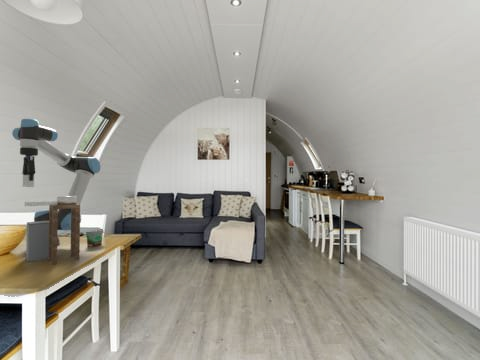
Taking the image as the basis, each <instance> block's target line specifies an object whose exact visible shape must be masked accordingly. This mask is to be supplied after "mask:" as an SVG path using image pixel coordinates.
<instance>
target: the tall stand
mask: <svg viewBox="0 0 480 360" xmlns="http://www.w3.org/2000/svg"><path fill="white" fill-rule="evenodd" d="M48 207H49V208H48V210H49V258H48V262H51V265H57V263H58V245H57V235H58V231H59V230H58V211H59V209H71V230H70V258H73V260H75V261H79V260H80V243H81V240H80V239H81V238H80V237H81V236H80V235H81V222H80V215H81V204H73V205H48Z"/></svg>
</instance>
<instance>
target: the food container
mask: <svg viewBox="0 0 480 360" xmlns="http://www.w3.org/2000/svg"><path fill="white" fill-rule="evenodd" d="M104 233H105V231H104V229H103V228H99V229H98V230H93V231H86V233H85V236H86V246H87V248H96V247H99V246H102V243H103V236H104V235H103V234H104Z"/></svg>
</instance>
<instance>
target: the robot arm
mask: <svg viewBox="0 0 480 360" xmlns="http://www.w3.org/2000/svg"><path fill="white" fill-rule="evenodd" d="M11 133H12V137H13V138H14V139H15V140H16V141H19V146H20V148H19V155H21V156H24V157H23V164H22V173H21V174H22V187H25V188H34V187H35V175H36V166H35V157H37V156H38V154H39V152H41V153H42V154H44V155H45V156H47V157H49V158H50V159H52V160H53V161H54V162H56V163H57V165H58V166H59V167H61V168H62V169H64V170H67V171H68V172H71V173H75V178H74V180H73V182H72V185H71V188H70V189H69V192H68V193H67V196H77V204H80V205H81V204H82V200H83V198H84V196H85V193H86V191H87V188H88V186H89V182H90V179H93V178H95V174H98V173H99V172H100V171H101V167H102V166H101V162H100V161H99V160H100V159H98V158H97V157H94V156H93V157H92V156H72V155H70V154H68V153H65V152H64V151H62V150H60V149H59V148H58V147H56V146H55V145H53V144H52V143H50V142H55V141H57V139H58V135H59V134H58V131H57V130H56V129H53V128H51V127H46V126H42V125H40V123H39V120H37V119H32V118H22V119H21V121H20V127H15V128H14V129H13V130H12V132H11ZM37 221H49V209H46V210H39V211H38V210H37V211H36V212H35V213H34V217H33V222H37ZM80 223H82V215H81V214H80ZM58 231H71V209H58ZM60 242H61V240H60V238H59V235H58V234H57V246H59V245H60V244H61V243H60Z"/></svg>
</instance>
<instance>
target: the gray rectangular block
mask: <svg viewBox="0 0 480 360" xmlns="http://www.w3.org/2000/svg"><path fill="white" fill-rule="evenodd" d="M25 246H26V249H25V251H26V254H25V257H26V260H27V263H28V262H34V261H40V260H41V261H42V260H44V259H45V260H47V259H49V221H37V222H34V221H29V222H26V245H25Z"/></svg>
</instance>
